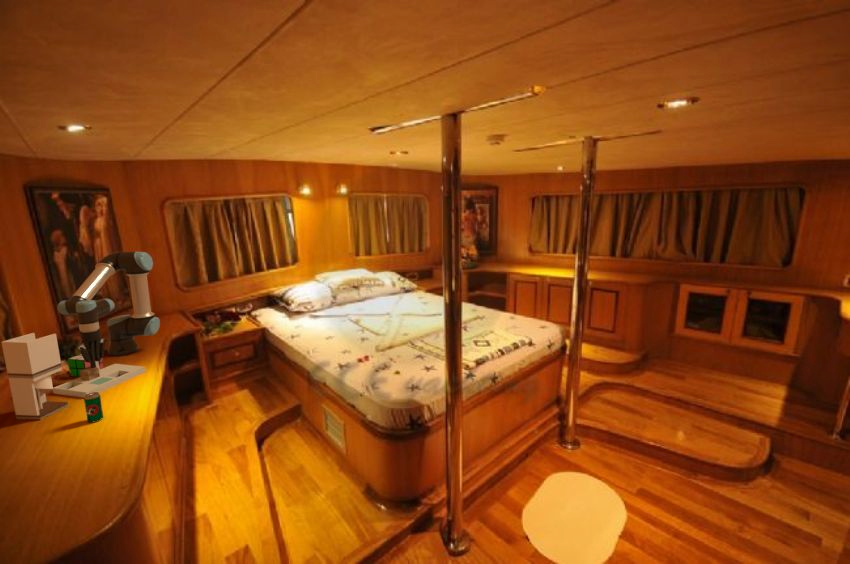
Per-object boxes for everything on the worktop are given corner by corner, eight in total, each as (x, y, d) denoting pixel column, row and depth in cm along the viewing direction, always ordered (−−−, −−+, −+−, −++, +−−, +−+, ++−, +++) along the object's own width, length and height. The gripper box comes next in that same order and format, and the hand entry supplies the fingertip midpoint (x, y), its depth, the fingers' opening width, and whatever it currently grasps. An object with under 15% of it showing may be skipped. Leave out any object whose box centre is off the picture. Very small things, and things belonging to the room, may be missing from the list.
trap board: (115, 368, 201) (115, 363, 200) (145, 371, 198) (145, 366, 197) (53, 393, 172) (52, 387, 171) (87, 398, 169) (86, 392, 168)
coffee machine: (40, 420, 150) (26, 342, 144) (16, 419, 150) (1, 341, 144) (68, 406, 161) (56, 333, 155) (45, 405, 162) (32, 332, 155)
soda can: (106, 418, 153) (102, 392, 151) (92, 424, 148) (88, 398, 146) (98, 415, 155) (95, 390, 152) (84, 421, 150) (80, 396, 148)
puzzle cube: (104, 369, 199) (102, 353, 197) (86, 377, 189) (83, 360, 187) (88, 368, 200) (86, 352, 198) (69, 376, 190) (66, 359, 188)
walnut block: (91, 375, 185) (90, 366, 184) (99, 376, 184) (98, 367, 184) (81, 379, 180) (79, 370, 179) (89, 380, 180) (87, 371, 179)
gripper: (97, 326, 188) (103, 367, 192) (69, 333, 175) (77, 377, 180) (108, 327, 186) (115, 368, 191) (82, 334, 174) (89, 378, 178)
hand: (96, 372), depth 185 cm, fingers closed
